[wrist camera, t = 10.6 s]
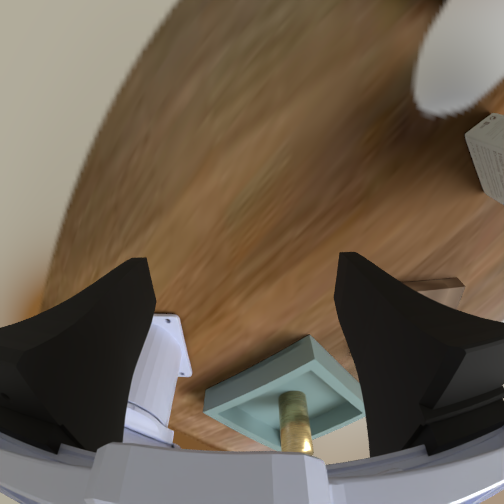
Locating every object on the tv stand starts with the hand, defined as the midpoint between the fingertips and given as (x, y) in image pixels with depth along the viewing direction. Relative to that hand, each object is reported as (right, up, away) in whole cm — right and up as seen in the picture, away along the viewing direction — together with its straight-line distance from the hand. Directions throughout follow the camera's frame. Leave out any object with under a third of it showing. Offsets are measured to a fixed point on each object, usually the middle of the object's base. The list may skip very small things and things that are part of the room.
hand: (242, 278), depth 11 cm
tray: (+5, -14, +19) cm, 25 cm away
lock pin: (+5, -15, +19) cm, 24 cm away
